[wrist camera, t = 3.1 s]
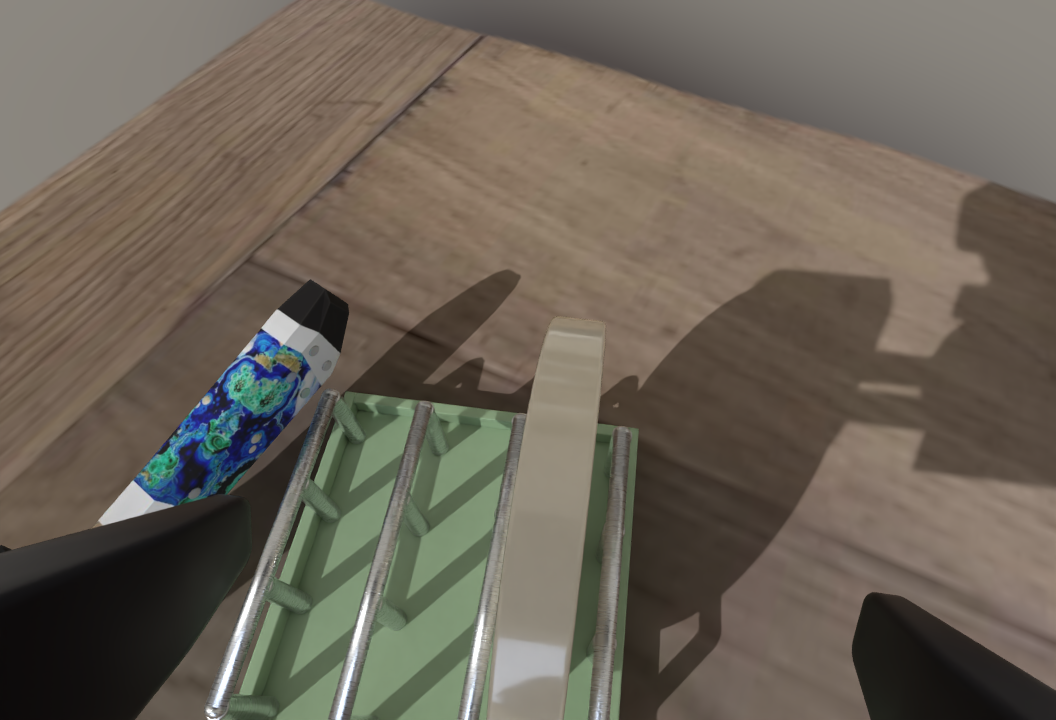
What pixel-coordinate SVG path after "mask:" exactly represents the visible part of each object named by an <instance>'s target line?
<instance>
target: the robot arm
mask: <svg viewBox="0 0 1056 720" xmlns="http://www.w3.org/2000/svg"><path fill="white" fill-rule="evenodd" d="M251 548H252V536H251V509H250V504H249V501H248V500H247V499H246V498H244V497H240V496H233V495H226V494H218V495H214V496H210V497H207V498H203V499H199V500H196V501H192V502H188V503H184V504H181V505H177V506H173V507H170V508H166V509H162V510H158V511H155V512H151V513H147V514H144V515H140V516H136V517H133V518H129V519H125V520H121V521H118V522H114V523H110V524H107V525H103V526H99V527H95V528H92V529H88V530H84V531H81V532H77V533H73V534H69V535H66V536H62V537H58V538H55V539H51V540H47V541H43V542H40V543H36V544H32V545H29V546H25V547H21V548H17V549H14V550H10V551H6V552H3V553H0V720H135V719H136V718H137V716H138V715H139V714H140V713H141V711H142V710H143V709H144V708H145V706H146V705H147V704H148V703H149V701H150V700H151V699H152V697H153V696H154V695H155V694H156V692H157V691H158V690H159V689H160V687H161V686H162V685H163V684H164V682H165V681H166V680H167V679H168V677H169V676H170V675H171V674H172V672H173V671H174V670H175V668H176V667H177V666H178V665H179V663H180V662H181V661H182V659H183V658H184V657H185V655H186V654H187V653H188V651H189V650H190V649H191V647H192V646H193V644H194V643H195V641H196V640H197V639H198V637H199V636H200V634H201V633H202V631H203V630H204V628H205V627H206V625H207V623H208V622H209V620H210V619H211V617H212V616H213V614H214V613H215V611H216V610H217V608H218V607H219V605H220V603H221V602H222V600H223V599H224V597H225V596H226V594H227V593H228V591H229V590H230V588H231V587H232V585H233V583H234V582H235V580H236V579H237V577H238V576H239V574H240V573H241V571H242V570H243V568H244V567H245V565H246V563H247V561H248V559H249V557H250V553H251ZM852 657H853V662H854V666H855V669H856V672H857V676H858V679H859V682H860V686H861V689H862V692H863V695H864V699H865V702H866V705H867V709H868V712H869V715H870V719H871V720H1056V690H1054V689H1052V688H1051V687H1049V686H1047V685H1046V684H1044V683H1043V682H1041V681H1039V680H1038V679H1036V678H1034V677H1033V676H1031V675H1030V674H1028V673H1026V672H1025V671H1023V670H1021V669H1020V668H1018V667H1016V666H1015V665H1013V664H1012V663H1010V662H1008V661H1007V660H1005V659H1003V658H1002V657H1000V656H999V655H997V654H995V653H994V652H992V651H990V650H989V649H987V648H985V647H984V646H982V645H981V644H979V643H977V642H976V641H974V640H972V639H971V638H969V637H968V636H966V635H964V634H963V633H961V632H959V631H958V630H956V629H954V628H953V627H951V626H950V625H948V624H946V623H945V622H943V621H941V620H940V619H938V618H937V617H935V616H933V615H932V614H930V613H928V612H927V611H925V610H924V609H922V608H920V607H919V606H917V605H915V604H914V603H912V602H910V601H909V600H907V599H906V598H904V597H901V596H897V595H890V594H884V593H877V592H872V593H870V594H868V595H867V596H866V597H865V599H864V601H863V605H862V608H861V612H860V616H859V620H858V623H857V627H856V631H855V635H854V639H853V643H852Z"/></svg>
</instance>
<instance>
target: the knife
mask: <svg viewBox="0 0 1056 720" xmlns="http://www.w3.org/2000/svg"><path fill="white" fill-rule="evenodd" d="M348 315H349V308H348V304H347V303H346V302H344V301H343V300H341V299H340V298H338V297H337V296H335V295H334V294H332V293H331V292H329V291H327V290H326V289H324V288H323V287H321V286H320V285H318V284H317V283H315V282H314V281H312V280H311V279H310V280H309V281H308V282H307V283H306V284H305V285H303V286H302V287H301V288H300V289H299V290H298V291H297V292H296V293H295V294H293V295H292V296H291V297H290V298H289V299H288V300H287V301H286V302H285V303H284V304H282V305H281V306H280V307H279V308H278V309H277V310H276V311H275V312H274V313H273V315H272V316H271V317H270V318H269V319H268V320H267V322H266V323H265V324H264V326H263V327H262V328H261V329H260V331H259V332H258V333H257V334H256V335H255V337H254V338H253V339H252V340H251V341H250V342H249V344H248V345H247V346H246V347H245V348H244V350H243V351H242V352H241V353H240V354H239V356H238V357H237V358H236V359H235V360H234V361H233V363H232V364H231V365H230V366H229V367H228V369H227V370H226V371H225V372H224V373H223V374H222V376H221V377H220V378H219V379H218V380H217V382H216V383H215V384H214V385H213V386H212V388H211V389H210V390H209V391H208V392H207V393H206V395H205V396H204V397H203V398H202V399H201V401H200V402H199V403H198V404H197V405H196V406H195V408H194V409H193V410H192V411H191V412H190V414H189V415H188V416H187V417H186V418H185V419H184V421H183V422H182V423H181V424H180V425H179V427H178V428H177V429H176V430H175V431H174V433H173V434H172V435H171V436H170V437H169V438H168V440H167V441H166V442H165V443H164V444H163V446H162V447H161V448H160V449H159V450H158V451H157V453H156V454H155V455H154V456H153V457H152V459H151V460H150V461H149V462H148V463H147V465H146V466H145V467H144V468H143V469H142V470H141V472H140V473H139V474H138V475H137V476H136V478H135V479H134V480H133V481H132V482H131V483H130V485H129V486H128V487H127V488H126V489H125V490H124V491H123V493H122V494H121V495H120V496H119V497H118V498H117V500H116V501H115V502H114V503H113V504H112V505H111V506H110V508H109V509H108V510H107V511H106V512H105V513H104V515H103V516H102V517H101V518H100V519H99V520H98V522H97V523H96V524H95V525H94V527H93V528H95V527H99V526H103V525H107V524H110V523H114V522H118V521H121V520H125V519H129V518H133V517H136V516H140V515H144V514H147V513H151V512H155V511H158V510H162V509H166V508H170V507H173V506H177V505H181V504H184V503H188V502H192V501H196V500H199V499H203V498H207V497H210V496H214V495H218V494H226V495H227V493H228V492H229V491H230V490H231V489H232V488H233V487H234V485H235V484H236V483H237V482H238V481H239V480H240V479H241V477H242V476H243V475H244V474H245V473H246V472H247V470H248V469H249V468H250V467H251V466H252V465H253V464H254V462H255V461H256V460H257V459H258V458H259V457H260V456H261V454H262V453H263V452H264V451H265V450H266V449H267V447H268V446H269V445H270V444H271V443H272V442H273V441H274V439H275V438H276V437H277V436H278V435H279V434H280V433H281V431H282V430H283V429H284V428H285V427H286V426H287V424H288V423H289V422H290V421H291V420H292V419H293V418H294V416H295V415H296V414H297V413H298V412H299V411H300V410H301V408H302V407H303V406H304V405H305V404H306V403H307V402H308V400H309V399H310V398H311V397H312V396H313V395H314V393H315V392H316V391H317V390H318V389H319V388H320V387H321V385H322V384H323V383H324V382H325V381H326V380H327V379H328V377H329V376H330V375H331V374H332V372H333V370H334V367H335V365H336V362H337V360H338V358H339V355H340V353H341V348H342V343H343V339H344V334H345V329H346V325H347V320H348ZM10 550H11V549H9V548H7V547H5V546H2V545H1V546H0V553H3V552H6V551H10Z"/></svg>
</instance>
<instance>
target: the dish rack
mask: <svg viewBox="0 0 1056 720" xmlns="http://www.w3.org/2000/svg"><path fill="white" fill-rule="evenodd" d="M526 415H527V414H525V413H512V412H504V411H496V410H489V409H481V408H473V407H465V406H457V405H450V404H442V403H434V402H429V401H425V400H424V401H418V400H410V399H403V398H395V397H387V396H379V395H371V394H364V393H355V392H348V391H346V392H345V395H344V398H343V397H342V396H341V394H340V392H339V391H338V390H335V389H331V388H329V389H326V390H325V391H324V392H323V393H322V395H321V398H320V401H319V403H318V406H317V409H316V411H315V414H314V417H313V419H312V422H311V425H310V427H309V430H308V433H307V435H306V438H305V441H304V443H303V446H302V449H301V451H300V454H299V457H298V459H297V462H296V465H295V467H294V470H293V473H292V475H291V478H290V481H289V483H288V486H287V489H286V491H285V494H284V497H283V499H282V502H281V505H280V507H279V510H278V513H277V515H276V518H275V521H274V523H273V526H272V529H271V531H270V534H269V536H268V539H267V542H266V544H265V547H264V550H263V552H262V555H261V558H260V560H259V563H258V566H257V568H256V571H255V574H254V576H253V579H252V582H251V584H250V587H249V590H248V592H247V595H246V598H245V600H244V603H243V606H242V608H241V611H240V614H239V616H238V619H237V622H236V624H235V627H234V630H233V632H232V635H231V638H230V640H229V643H228V646H227V648H226V651H225V654H224V656H223V659H222V662H221V664H220V667H219V670H218V672H217V675H216V678H215V680H214V683H213V685H212V688H211V691H210V693H209V696H208V699H207V701H206V704H205V707H204V713H205V716H206V718H207V719H208V720H486V715H487V701H488V688H489V678H490V667H491V657H492V647H493V638H494V629H495V620H496V611H497V604H498V596H499V588H500V580H501V572H502V565H503V557H504V550H505V543H506V536H507V529H508V522H509V516H510V509H511V503H512V496H513V489H514V483H515V477H516V471H517V465H518V459H519V453H520V447H521V442H522V436H523V431H524V426H525V420H526ZM331 417H333V418H334V420H335V424H334V426H333V429H332V432H331V435H330V438H329V441H328V443H327V446H326V449H325V452H324V455H323V457H322V460H321V463H320V466H319V469H318V472H317V474H316V477H315V480H314V482H313V481H312V480H311V479H310V476H311V473H312V470H313V468H314V465H315V462H316V459H317V457H318V454H319V451H320V448H321V445H322V443H323V440H324V437H325V434H326V431H327V429H328V426H329V423H330V420H331ZM638 432H639V430H638V429H637V428H629V427H628V428H627V427H625V426H613V425H606V424H598V425H597V434H596V444H595V453H594V462H593V472H592V481H591V490H590V499H589V508H588V517H587V526H586V535H585V544H584V553H583V562H582V570H581V579H580V588H579V596H578V605H577V614H576V622H575V631H574V639H573V647H572V656H571V664H570V672H569V681H568V689H567V697H566V705H565V713H564V720H619V711H620V697H621V682H622V667H623V653H624V638H625V623H626V609H627V594H628V579H629V564H630V550H631V535H632V520H633V506H634V491H635V476H636V462H637V447H638ZM301 501H303V502H304V503H305V504H306V506H305V508H304V511H303V514H302V517H301V520H300V523H299V525H298V528H297V531H296V534H295V537H294V539H293V542H292V545H291V548H290V551H289V554H288V556H287V559H286V562H285V565H284V568H283V571H282V573H281V576H280V579H277V578H275V577H274V576H275V574H276V571H277V568H278V565H279V562H280V560H281V557H282V554H283V551H284V549H285V546H286V543H287V540H288V537H289V535H290V532H291V529H292V526H293V523H294V521H295V518H296V515H297V512H298V509H299V507H300V504H301ZM266 601H268V602H270V603H271V604H270V607H269V610H268V613H267V616H266V619H265V621H264V624H263V627H262V630H261V633H260V636H259V638H258V641H257V644H256V647H255V650H254V653H253V655H252V658H251V661H250V664H249V667H248V670H247V672H246V675H245V678H244V681H243V684H242V686H241V689H240V692H239V694H233V691H234V688H235V685H236V682H237V680H238V677H239V674H240V671H241V668H242V666H243V663H244V660H245V657H246V655H247V652H248V649H249V646H250V643H251V641H252V638H253V635H254V632H255V629H256V627H257V624H258V621H259V618H260V615H261V613H262V610H263V607H264V604H265V602H266Z"/></svg>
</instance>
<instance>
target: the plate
mask: <svg viewBox="0 0 1056 720" xmlns="http://www.w3.org/2000/svg"><path fill="white" fill-rule="evenodd" d="M605 341H606V323H605V322H603V321H597V320H588V319H579V318H570V317H561V316H556V317H554V318H553V319H552V320H551V322H550V324H549V326H548V329H547V331H546V334H545V337H544V340H543V344H542V347H541V351H540V355H539V359H538V363H537V367H536V372H535V376H534V380H533V385H532V390H531V395H530V400H529V405H528V410H527V415H526V420H525V426H524V431H523V436H522V442H521V447H520V453H519V459H518V465H517V471H516V477H515V483H514V489H513V496H512V503H511V509H510V516H509V522H508V529H507V536H506V543H505V550H504V557H503V565H502V572H501V580H500V588H499V596H498V604H497V611H496V620H495V629H494V638H493V647H492V657H491V667H490V678H489V688H488V701H487V715H486V720H564V713H565V705H566V697H567V689H568V681H569V672H570V664H571V656H572V647H573V639H574V631H575V622H576V614H577V605H578V596H579V588H580V579H581V570H582V562H583V553H584V544H585V535H586V526H587V517H588V508H589V499H590V490H591V481H592V472H593V462H594V453H595V444H596V434H597V425H598V415H599V405H600V395H601V385H602V375H603V364H604V353H605Z"/></svg>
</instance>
